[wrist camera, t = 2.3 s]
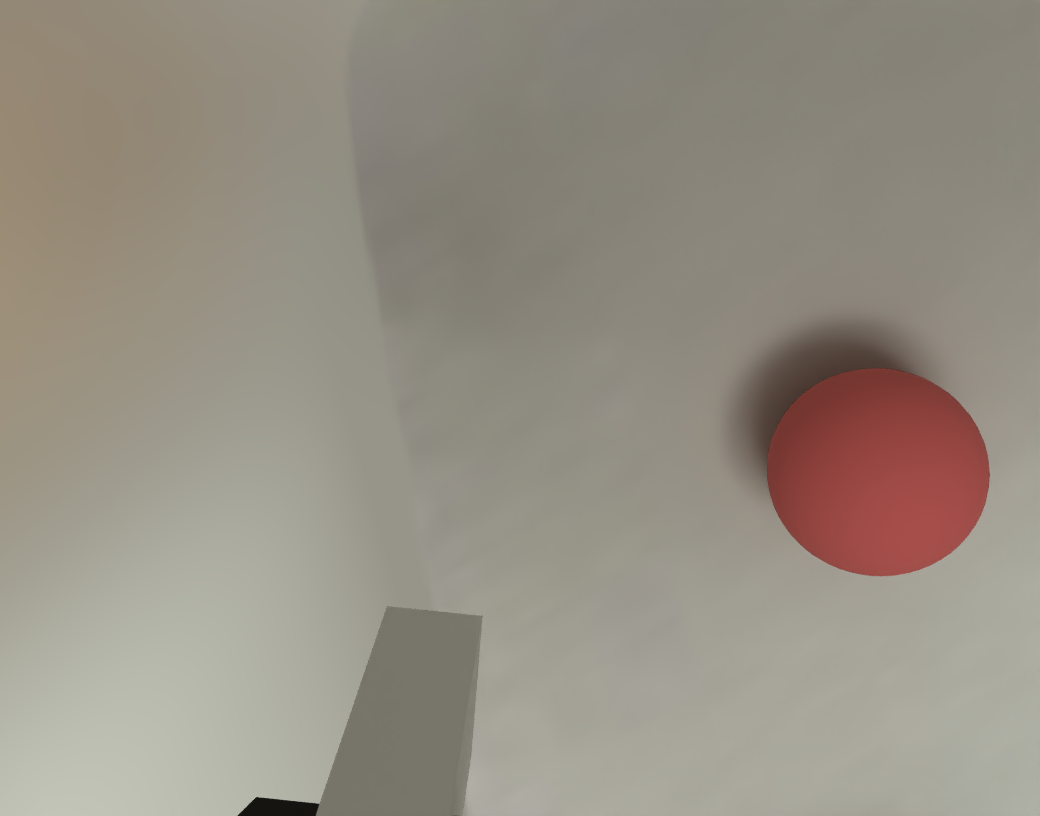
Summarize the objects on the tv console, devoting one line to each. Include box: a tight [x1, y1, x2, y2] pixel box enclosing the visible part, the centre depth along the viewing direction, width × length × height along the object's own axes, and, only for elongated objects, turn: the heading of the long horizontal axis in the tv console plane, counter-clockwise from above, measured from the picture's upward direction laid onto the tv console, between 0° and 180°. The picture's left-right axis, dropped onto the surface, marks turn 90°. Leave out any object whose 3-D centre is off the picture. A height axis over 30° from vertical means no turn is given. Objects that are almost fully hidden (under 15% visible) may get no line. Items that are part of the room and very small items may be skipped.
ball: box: [767, 368, 990, 576], centre depth 24 cm, size 6×6×6 cm
